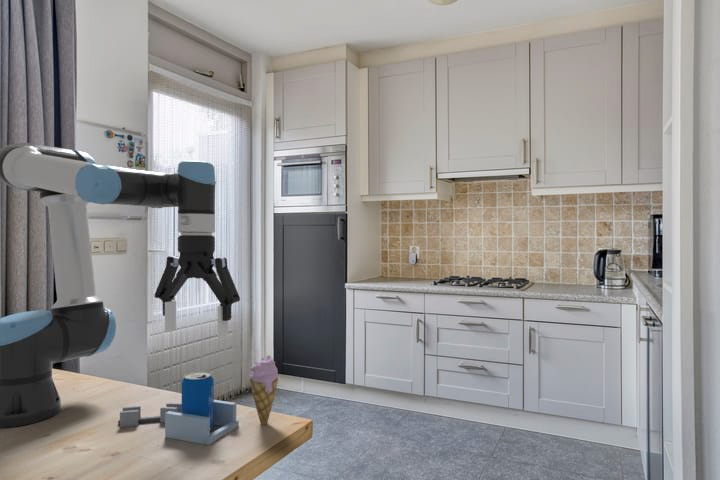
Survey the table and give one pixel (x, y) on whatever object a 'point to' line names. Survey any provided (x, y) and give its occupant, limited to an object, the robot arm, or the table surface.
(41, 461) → the table surface
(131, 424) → the clip
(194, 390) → the beverage can
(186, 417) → the end holder
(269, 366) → the ice cream cone
